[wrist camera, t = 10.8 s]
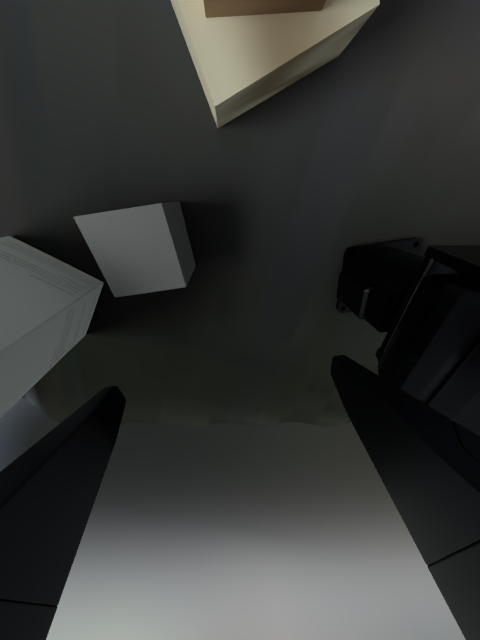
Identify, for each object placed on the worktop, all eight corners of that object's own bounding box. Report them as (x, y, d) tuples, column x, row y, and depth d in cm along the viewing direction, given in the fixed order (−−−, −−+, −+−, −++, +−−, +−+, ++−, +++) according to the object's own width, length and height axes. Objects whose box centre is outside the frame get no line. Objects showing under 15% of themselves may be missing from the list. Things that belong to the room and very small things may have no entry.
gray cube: (179, 201, 15) (161, 203, 11) (195, 265, 18) (186, 287, 14) (116, 211, 15) (73, 216, 11) (141, 273, 18) (114, 297, 14)
